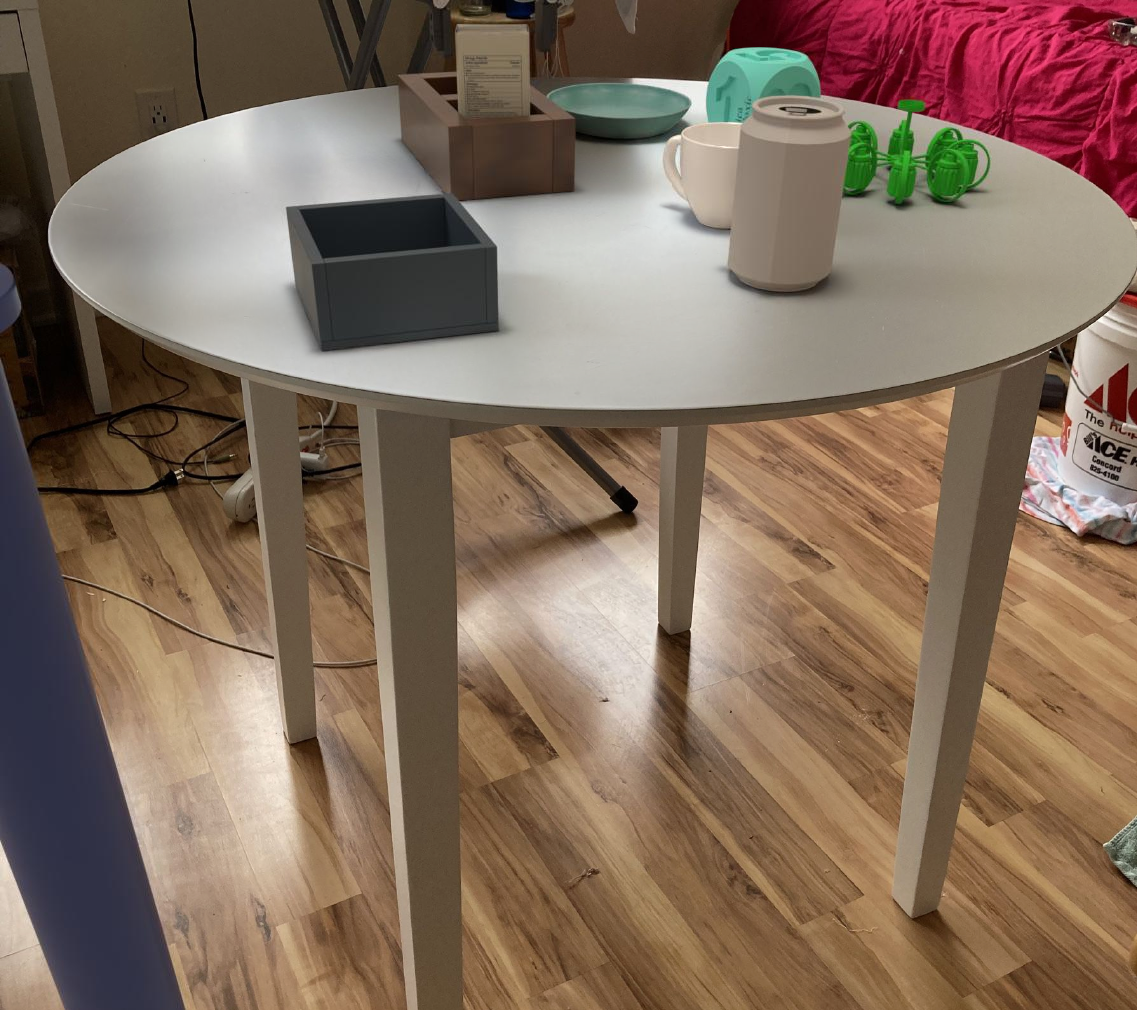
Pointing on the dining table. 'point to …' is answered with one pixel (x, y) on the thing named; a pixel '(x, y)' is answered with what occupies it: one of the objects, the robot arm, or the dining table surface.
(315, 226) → the open box
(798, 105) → the can
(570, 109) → the saucer
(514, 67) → the cosmetic box
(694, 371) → the dining table surface
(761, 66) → the decorative dice
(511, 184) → the box
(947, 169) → the chandelier
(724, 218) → the cup
